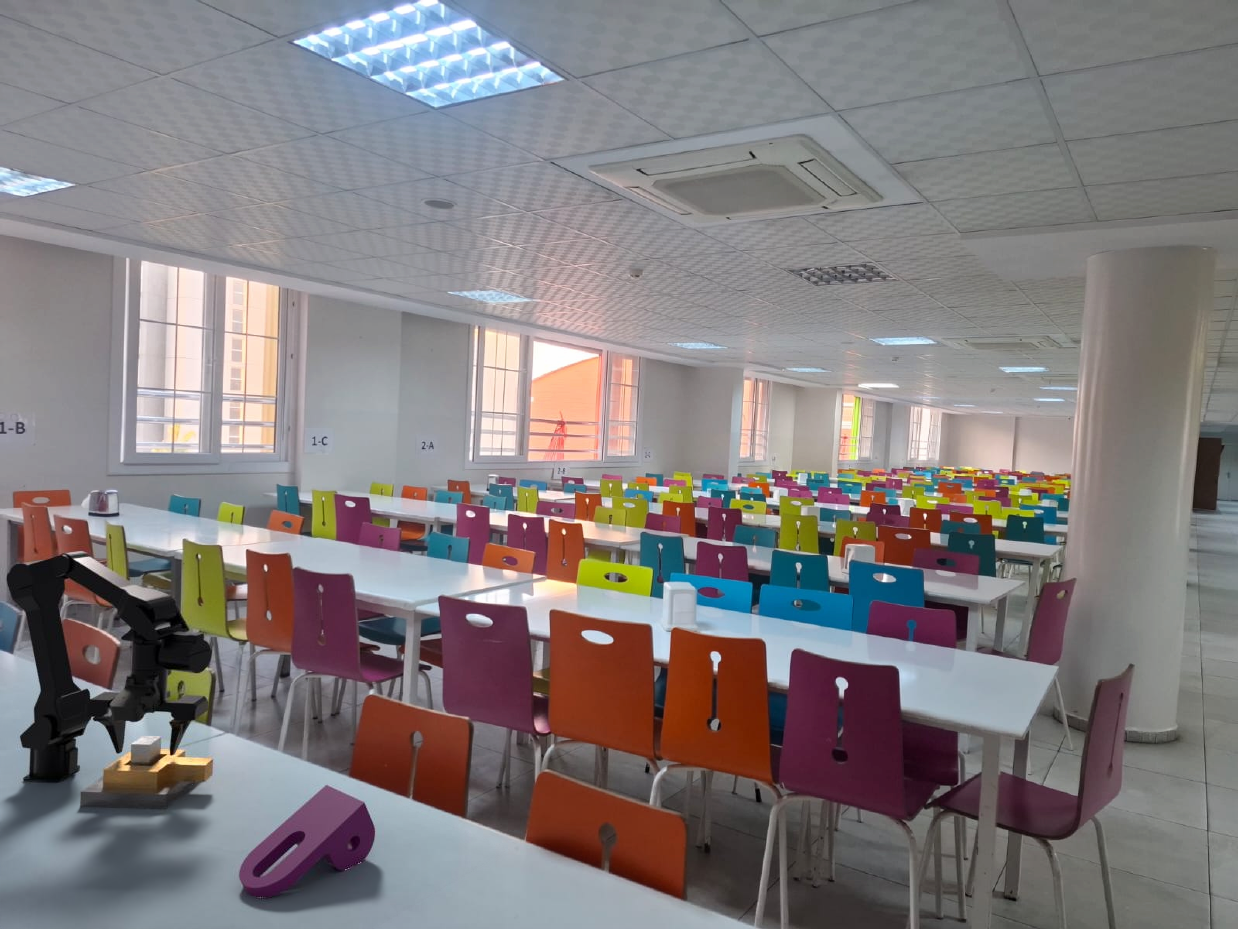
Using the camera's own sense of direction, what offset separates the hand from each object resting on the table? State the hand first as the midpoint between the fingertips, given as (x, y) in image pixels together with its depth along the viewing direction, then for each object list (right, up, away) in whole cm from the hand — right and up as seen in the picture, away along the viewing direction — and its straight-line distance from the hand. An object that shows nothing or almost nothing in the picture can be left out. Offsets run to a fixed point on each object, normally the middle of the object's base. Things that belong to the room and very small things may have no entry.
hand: (145, 754), depth 146 cm
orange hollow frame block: (+2, -7, 0) cm, 7 cm away
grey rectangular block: (0, -7, 0) cm, 6 cm away
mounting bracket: (+37, -10, -23) cm, 45 cm away
